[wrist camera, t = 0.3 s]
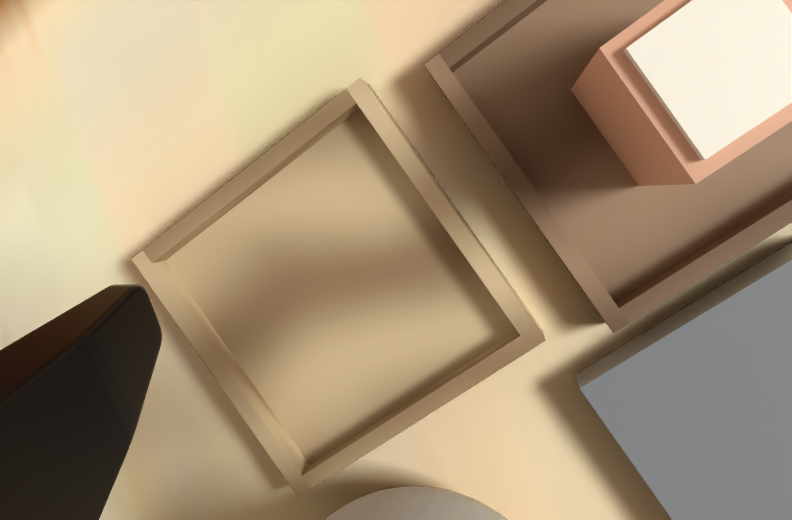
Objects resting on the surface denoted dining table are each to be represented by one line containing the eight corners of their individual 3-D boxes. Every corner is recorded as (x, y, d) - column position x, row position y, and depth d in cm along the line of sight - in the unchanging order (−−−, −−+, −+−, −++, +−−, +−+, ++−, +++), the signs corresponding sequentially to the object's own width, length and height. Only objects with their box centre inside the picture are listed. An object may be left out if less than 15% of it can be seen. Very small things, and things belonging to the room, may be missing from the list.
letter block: (746, 113, 20) (861, 77, 14) (638, 186, 21) (700, 183, 14) (675, 13, 20) (757, -70, 14) (570, 89, 21) (601, 44, 14)
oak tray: (542, 330, 22) (545, 340, 21) (310, 478, 24) (298, 497, 23) (369, 85, 22) (360, 77, 21) (153, 255, 25) (131, 259, 23)
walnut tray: (902, 137, 20) (935, 133, 18) (605, 323, 22) (613, 332, 20) (705, -141, 20) (721, -167, 18) (429, 73, 22) (424, 64, 20)
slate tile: (960, 453, 20) (996, 474, 19) (717, 577, 22) (732, 604, 21) (804, 234, 20) (828, 237, 19) (574, 375, 22) (579, 388, 21)
